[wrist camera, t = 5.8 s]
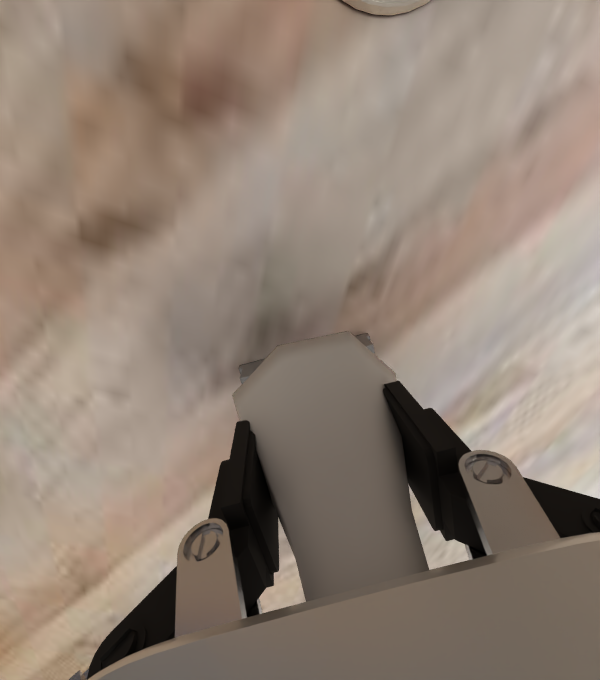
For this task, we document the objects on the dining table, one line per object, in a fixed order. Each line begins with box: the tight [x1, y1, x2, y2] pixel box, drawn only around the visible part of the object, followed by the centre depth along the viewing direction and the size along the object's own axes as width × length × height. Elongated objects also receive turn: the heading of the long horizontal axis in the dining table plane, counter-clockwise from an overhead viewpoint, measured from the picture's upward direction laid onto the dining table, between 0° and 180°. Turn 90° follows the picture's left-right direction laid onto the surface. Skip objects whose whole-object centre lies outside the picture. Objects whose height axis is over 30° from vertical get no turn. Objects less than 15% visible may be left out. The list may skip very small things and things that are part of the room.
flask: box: [232, 331, 429, 602], centre depth 9 cm, size 7×7×10 cm
